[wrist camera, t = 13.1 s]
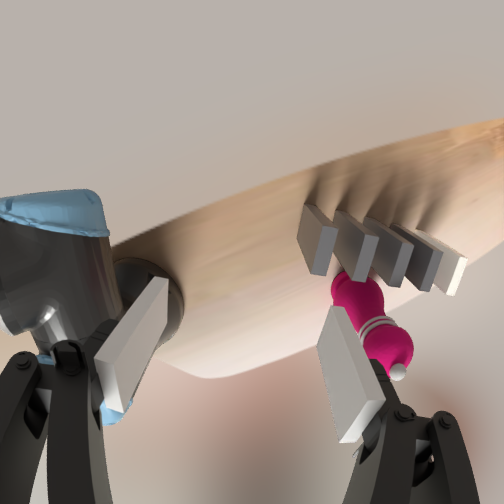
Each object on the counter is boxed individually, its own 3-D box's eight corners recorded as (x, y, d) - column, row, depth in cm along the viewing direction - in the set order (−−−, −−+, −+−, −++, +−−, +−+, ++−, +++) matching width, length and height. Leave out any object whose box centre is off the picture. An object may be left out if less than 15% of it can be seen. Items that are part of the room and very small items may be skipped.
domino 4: (382, 254, 40) (419, 290, 28) (391, 222, 38) (433, 249, 27) (390, 256, 40) (429, 292, 28) (400, 224, 38) (443, 252, 27)
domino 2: (327, 244, 39) (351, 280, 28) (335, 209, 38) (365, 234, 26) (337, 246, 39) (365, 282, 28) (346, 212, 38) (379, 237, 26)
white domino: (406, 259, 40) (445, 294, 28) (415, 228, 38) (459, 256, 27) (413, 261, 40) (454, 295, 28) (423, 231, 38) (467, 258, 27)
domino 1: (296, 238, 39) (310, 273, 28) (304, 203, 37) (322, 225, 26) (307, 240, 39) (325, 276, 28) (315, 205, 38) (338, 228, 26)
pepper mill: (374, 265, 40) (441, 343, 21) (367, 306, 43) (418, 395, 24) (329, 265, 40) (376, 353, 22) (325, 308, 43) (359, 406, 24)
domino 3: (356, 249, 39) (388, 285, 28) (364, 216, 38) (402, 242, 26) (365, 251, 39) (399, 287, 28) (374, 218, 38) (414, 245, 26)
